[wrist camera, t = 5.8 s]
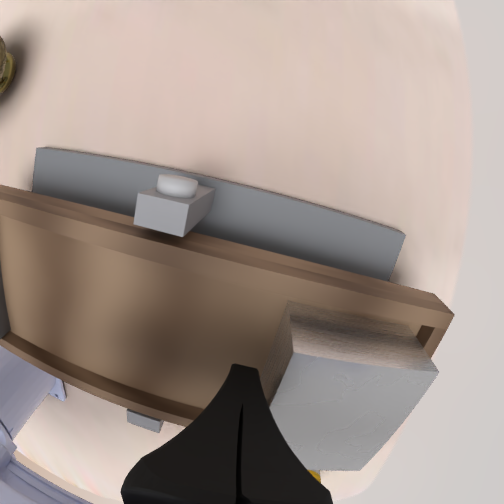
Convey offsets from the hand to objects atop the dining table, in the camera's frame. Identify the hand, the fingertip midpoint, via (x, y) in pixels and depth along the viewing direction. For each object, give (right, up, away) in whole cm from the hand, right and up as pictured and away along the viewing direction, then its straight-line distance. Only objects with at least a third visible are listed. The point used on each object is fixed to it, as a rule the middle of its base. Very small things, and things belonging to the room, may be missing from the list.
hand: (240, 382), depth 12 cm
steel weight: (+4, 0, +2) cm, 4 cm away
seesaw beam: (-4, +2, +2) cm, 5 cm away
